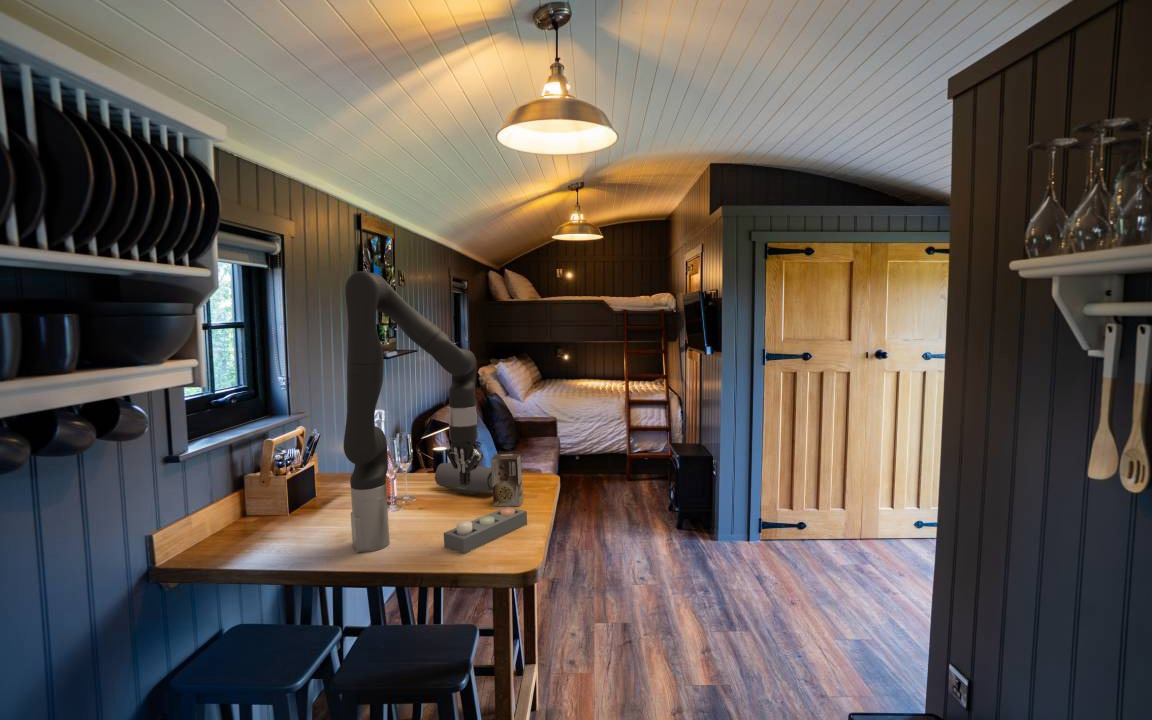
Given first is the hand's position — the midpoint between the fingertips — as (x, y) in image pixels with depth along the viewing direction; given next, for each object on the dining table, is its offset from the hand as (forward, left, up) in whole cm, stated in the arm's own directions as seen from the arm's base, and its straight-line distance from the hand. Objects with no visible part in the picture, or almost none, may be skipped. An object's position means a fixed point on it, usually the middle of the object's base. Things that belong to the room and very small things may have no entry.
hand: (465, 484), depth 156 cm
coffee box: (+24, +23, -17) cm, 37 cm away
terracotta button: (+15, +5, -15) cm, 22 cm away
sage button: (+7, +2, -15) cm, 17 cm away
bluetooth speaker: (+18, +43, -17) cm, 50 cm away
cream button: (-1, -1, -14) cm, 14 cm away
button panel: (+7, +2, -17) cm, 18 cm away
